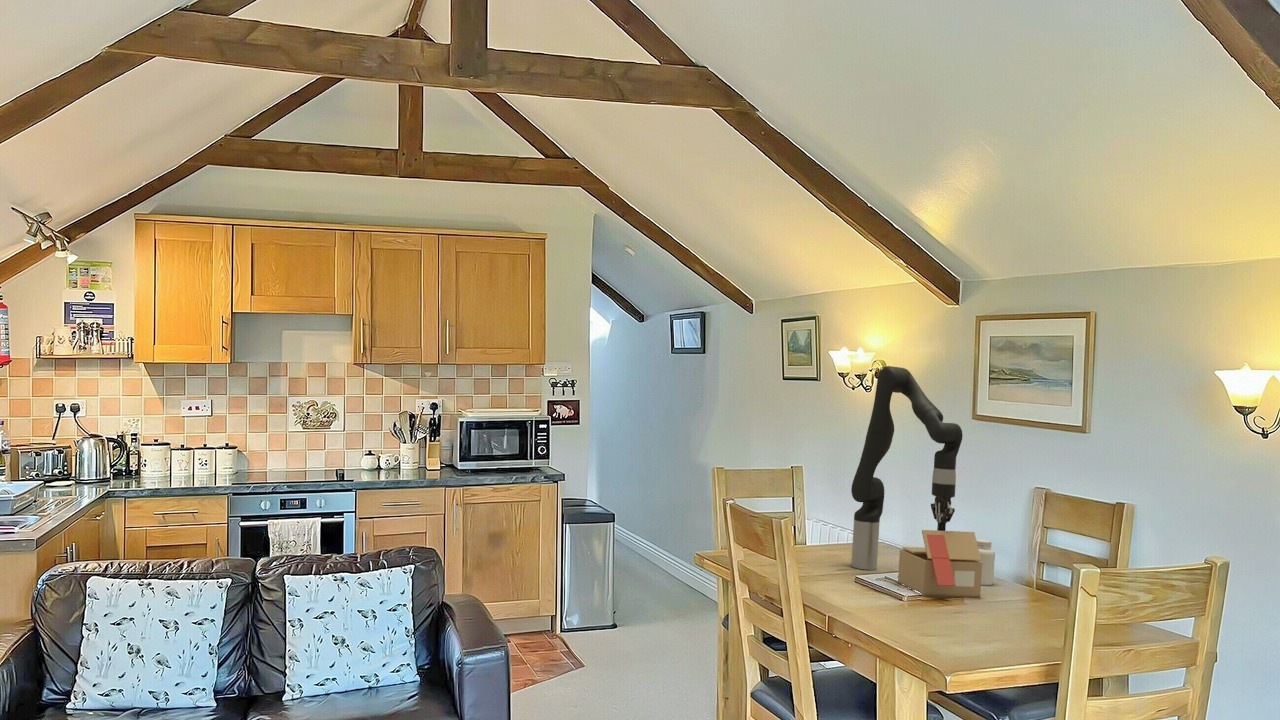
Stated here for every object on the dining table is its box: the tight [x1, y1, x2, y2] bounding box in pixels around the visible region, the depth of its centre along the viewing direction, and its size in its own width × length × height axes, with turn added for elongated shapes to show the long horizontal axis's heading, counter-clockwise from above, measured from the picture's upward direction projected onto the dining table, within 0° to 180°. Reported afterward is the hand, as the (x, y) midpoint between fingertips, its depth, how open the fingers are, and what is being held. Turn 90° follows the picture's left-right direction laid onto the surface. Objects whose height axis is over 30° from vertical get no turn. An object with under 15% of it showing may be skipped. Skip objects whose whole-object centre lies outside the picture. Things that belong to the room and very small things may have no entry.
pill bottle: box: [976, 539, 996, 586], centre depth 342 cm, size 8×8×15 cm
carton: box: [897, 546, 982, 599], centre depth 324 cm, size 19×20×12 cm
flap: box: [921, 529, 981, 586], centre depth 315 cm, size 19×18×1 cm
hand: (941, 533), depth 325 cm, fingers closed
